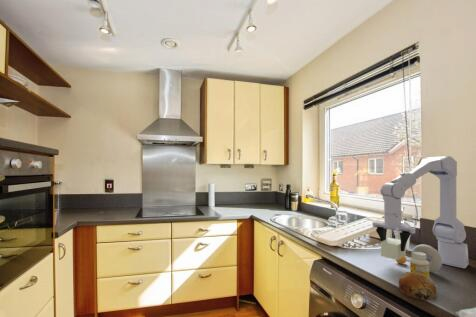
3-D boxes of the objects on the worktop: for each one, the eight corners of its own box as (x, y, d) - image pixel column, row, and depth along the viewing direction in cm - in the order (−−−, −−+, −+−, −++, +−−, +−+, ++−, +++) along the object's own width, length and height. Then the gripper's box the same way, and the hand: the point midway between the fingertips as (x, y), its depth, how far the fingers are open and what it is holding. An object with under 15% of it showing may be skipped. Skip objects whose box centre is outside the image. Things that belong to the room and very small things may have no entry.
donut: (409, 268, 102) (409, 242, 102) (414, 266, 104) (413, 240, 104) (440, 277, 93) (439, 248, 94) (444, 275, 95) (443, 247, 96)
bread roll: (437, 306, 81) (438, 279, 84) (434, 303, 74) (434, 274, 77) (400, 295, 87) (402, 271, 90) (394, 292, 81) (396, 265, 83)
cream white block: (389, 251, 107) (389, 237, 107) (405, 254, 102) (405, 240, 102) (380, 255, 101) (380, 241, 101) (397, 260, 96) (397, 245, 96)
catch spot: (417, 259, 112) (417, 258, 112) (413, 262, 108) (413, 262, 108) (401, 255, 116) (401, 255, 116) (397, 258, 112) (397, 258, 112)
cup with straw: (388, 248, 126) (387, 207, 126) (401, 246, 129) (400, 206, 130) (405, 254, 118) (404, 209, 119) (418, 251, 121) (417, 208, 122)
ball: (408, 263, 106) (407, 253, 106) (404, 266, 104) (404, 256, 104) (397, 261, 109) (396, 251, 110) (393, 263, 107) (393, 253, 107)
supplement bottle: (430, 286, 86) (429, 257, 86) (410, 282, 89) (410, 254, 89) (428, 280, 91) (428, 252, 91) (410, 277, 93) (409, 250, 94)
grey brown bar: (426, 258, 112) (426, 254, 112) (425, 259, 111) (425, 254, 111) (397, 252, 120) (397, 248, 120) (397, 253, 120) (397, 248, 120)
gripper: (369, 212, 105) (369, 246, 104) (411, 217, 94) (411, 255, 93) (376, 210, 109) (376, 243, 109) (416, 215, 99) (417, 251, 98)
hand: (393, 248), depth 102 cm, fingers closed on cream white block, 6 cm apart
